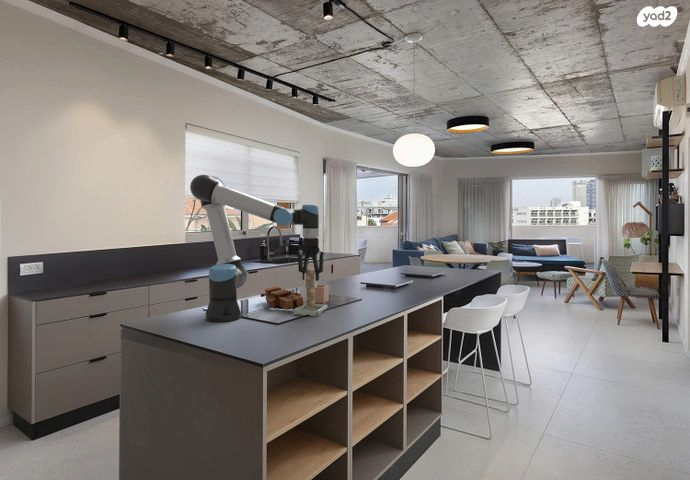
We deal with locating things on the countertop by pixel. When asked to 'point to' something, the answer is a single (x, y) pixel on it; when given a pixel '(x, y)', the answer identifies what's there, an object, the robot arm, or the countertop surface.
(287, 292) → the brown chunky pile
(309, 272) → the cream tall column
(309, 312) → the tray
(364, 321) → the countertop surface
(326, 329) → the countertop surface
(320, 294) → the pink cube
